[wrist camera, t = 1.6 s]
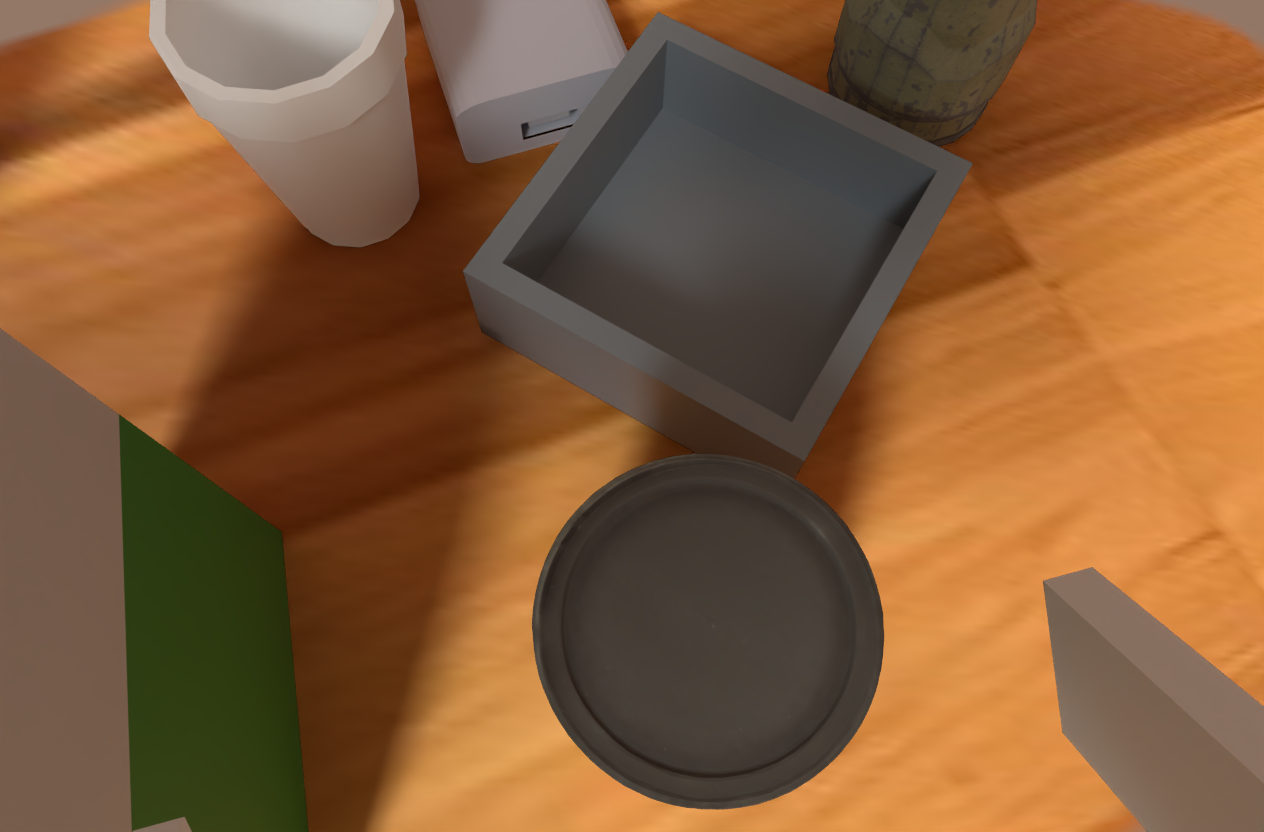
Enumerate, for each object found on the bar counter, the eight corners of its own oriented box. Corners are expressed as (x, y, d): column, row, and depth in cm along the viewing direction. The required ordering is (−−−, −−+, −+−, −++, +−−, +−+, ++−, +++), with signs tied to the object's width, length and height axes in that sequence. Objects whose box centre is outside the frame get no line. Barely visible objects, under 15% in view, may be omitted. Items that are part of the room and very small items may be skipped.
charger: (552, -80, 56) (635, 123, 51) (398, -42, 55) (468, 170, 50) (546, -153, 52) (637, 61, 47) (378, -113, 51) (453, 111, 46)
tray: (481, 331, 47) (462, 271, 41) (653, 95, 52) (657, 12, 46) (780, 501, 44) (804, 461, 38) (932, 233, 49) (972, 163, 43)
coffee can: (813, 573, 43) (899, 482, 30) (785, 820, 39) (869, 843, 26) (585, 532, 43) (570, 426, 30) (537, 773, 40) (496, 772, 27)
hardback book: (112, 565, 43) (-453, 330, 20) (281, 531, 43) (-85, 267, 21) (124, 1016, 37) (-660, 1395, 14) (320, 970, 37) (-135, 1262, 15)
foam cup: (420, 97, 52) (358, -113, 39) (474, 238, 49) (425, 58, 36) (245, 150, 50) (125, -50, 38) (289, 298, 47) (174, 133, 35)
